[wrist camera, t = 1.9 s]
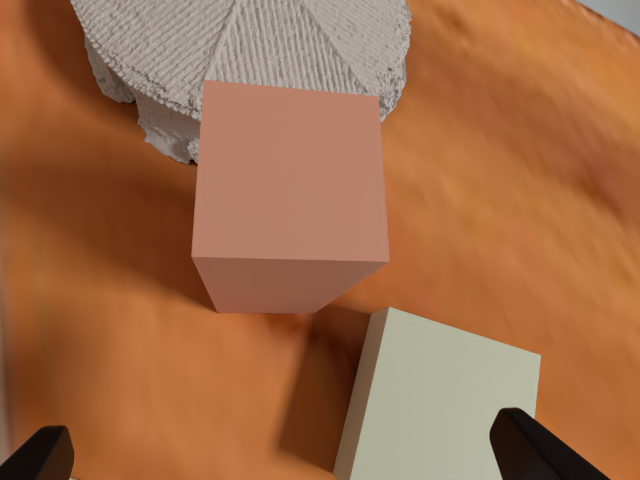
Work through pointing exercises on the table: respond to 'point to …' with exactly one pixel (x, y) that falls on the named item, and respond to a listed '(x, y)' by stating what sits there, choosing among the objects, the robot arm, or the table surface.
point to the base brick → (430, 401)
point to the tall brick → (287, 196)
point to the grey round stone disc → (239, 54)
